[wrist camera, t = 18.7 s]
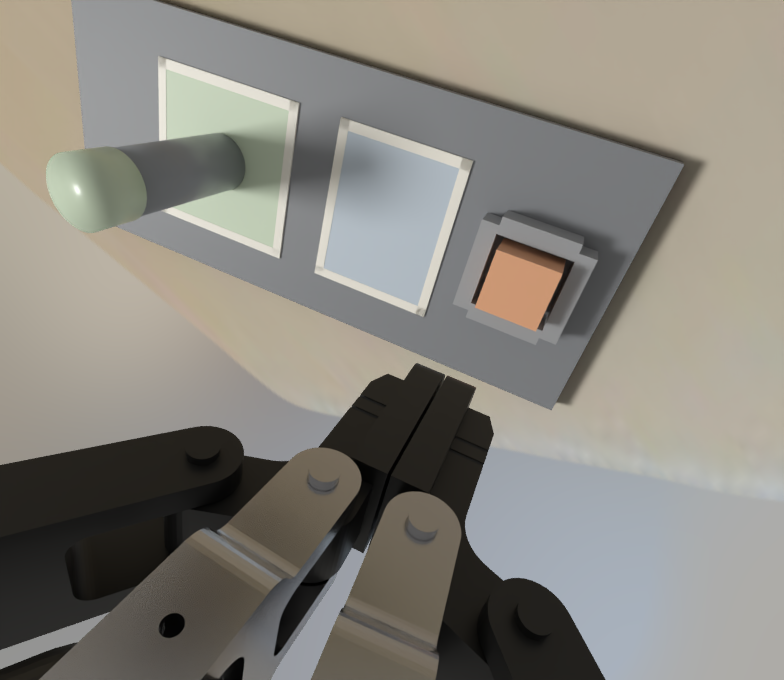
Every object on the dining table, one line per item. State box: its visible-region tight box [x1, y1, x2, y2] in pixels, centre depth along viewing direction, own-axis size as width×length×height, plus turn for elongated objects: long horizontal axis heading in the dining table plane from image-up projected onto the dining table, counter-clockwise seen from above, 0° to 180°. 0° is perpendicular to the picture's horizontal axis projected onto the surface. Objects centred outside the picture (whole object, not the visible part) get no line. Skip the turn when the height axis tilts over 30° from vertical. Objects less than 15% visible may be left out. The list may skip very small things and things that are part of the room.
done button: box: [475, 238, 566, 331], centre depth 28 cm, size 4×4×2 cm
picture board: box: [71, 0, 684, 410], centre depth 32 cm, size 38×16×3 cm, turn 76°
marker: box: [46, 133, 245, 233], centre depth 29 cm, size 4×4×11 cm
